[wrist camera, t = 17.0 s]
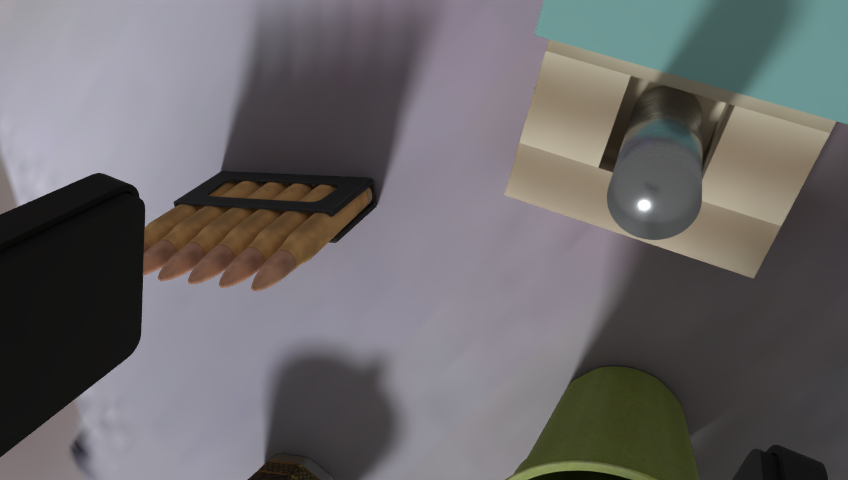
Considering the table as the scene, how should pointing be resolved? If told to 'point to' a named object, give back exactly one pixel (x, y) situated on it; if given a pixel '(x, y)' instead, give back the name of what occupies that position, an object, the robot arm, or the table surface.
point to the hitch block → (721, 154)
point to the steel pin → (659, 166)
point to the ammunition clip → (254, 226)
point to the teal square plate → (721, 44)
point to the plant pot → (613, 432)
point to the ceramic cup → (290, 469)
